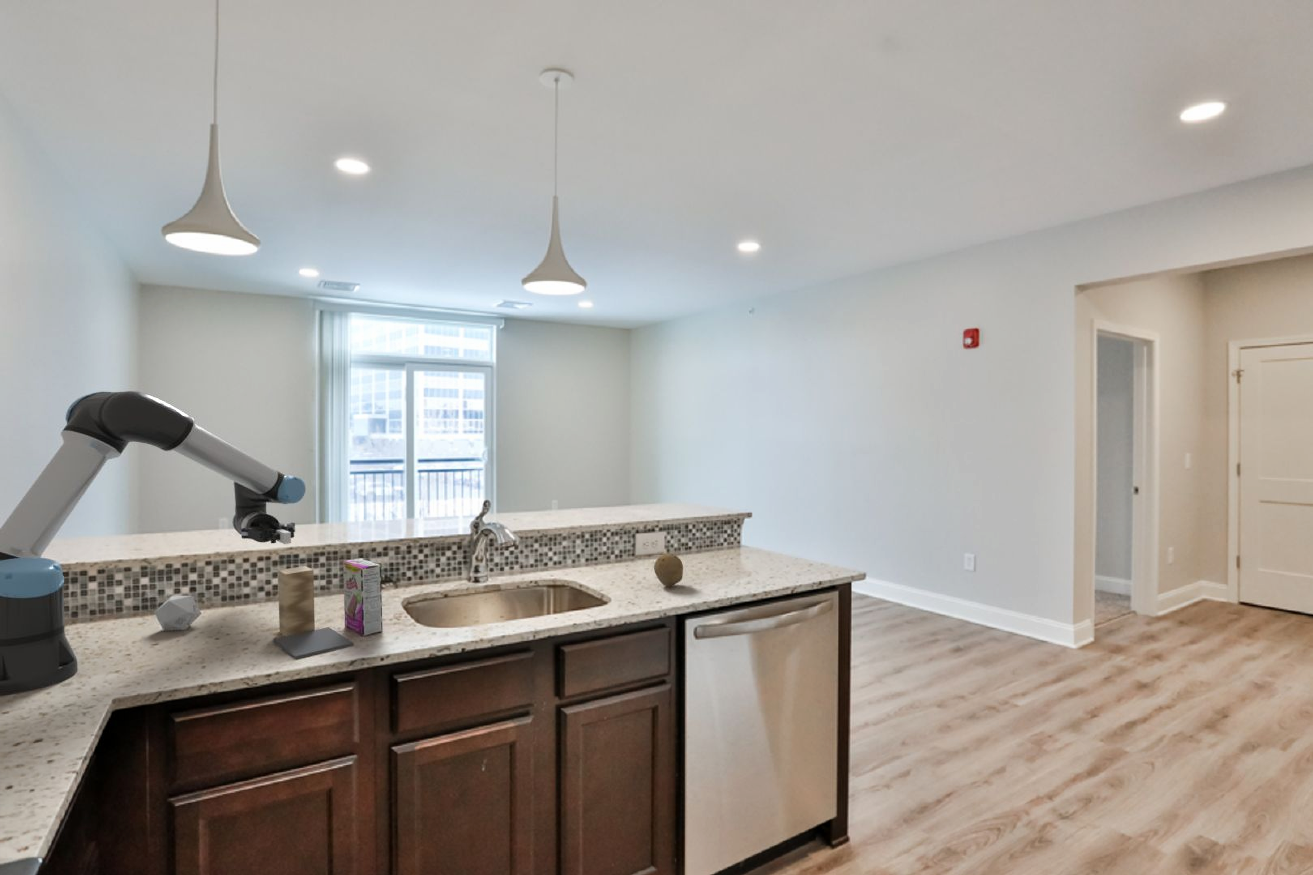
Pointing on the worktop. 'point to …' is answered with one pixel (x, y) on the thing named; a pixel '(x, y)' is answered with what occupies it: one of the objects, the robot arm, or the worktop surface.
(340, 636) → the mat
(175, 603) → the die
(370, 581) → the candy bar box
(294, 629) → the wooden block
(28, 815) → the worktop surface
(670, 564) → the brown oval lump
